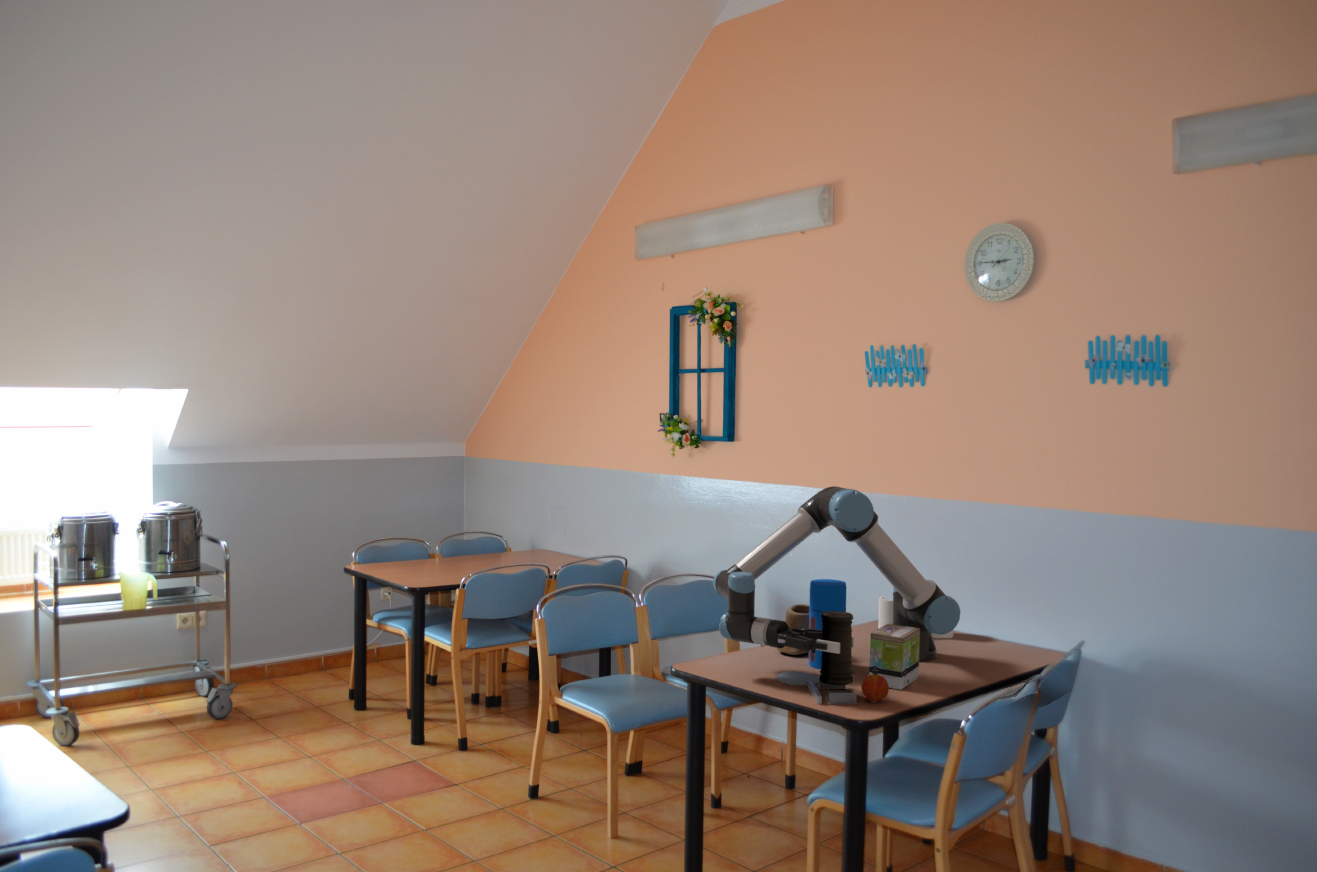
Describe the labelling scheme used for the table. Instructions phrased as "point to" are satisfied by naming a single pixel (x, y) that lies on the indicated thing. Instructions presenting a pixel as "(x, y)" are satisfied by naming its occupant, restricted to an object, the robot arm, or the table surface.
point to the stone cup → (796, 624)
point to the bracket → (887, 616)
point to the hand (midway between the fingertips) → (846, 644)
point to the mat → (797, 678)
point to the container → (840, 665)
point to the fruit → (875, 687)
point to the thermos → (824, 607)
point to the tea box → (895, 654)
